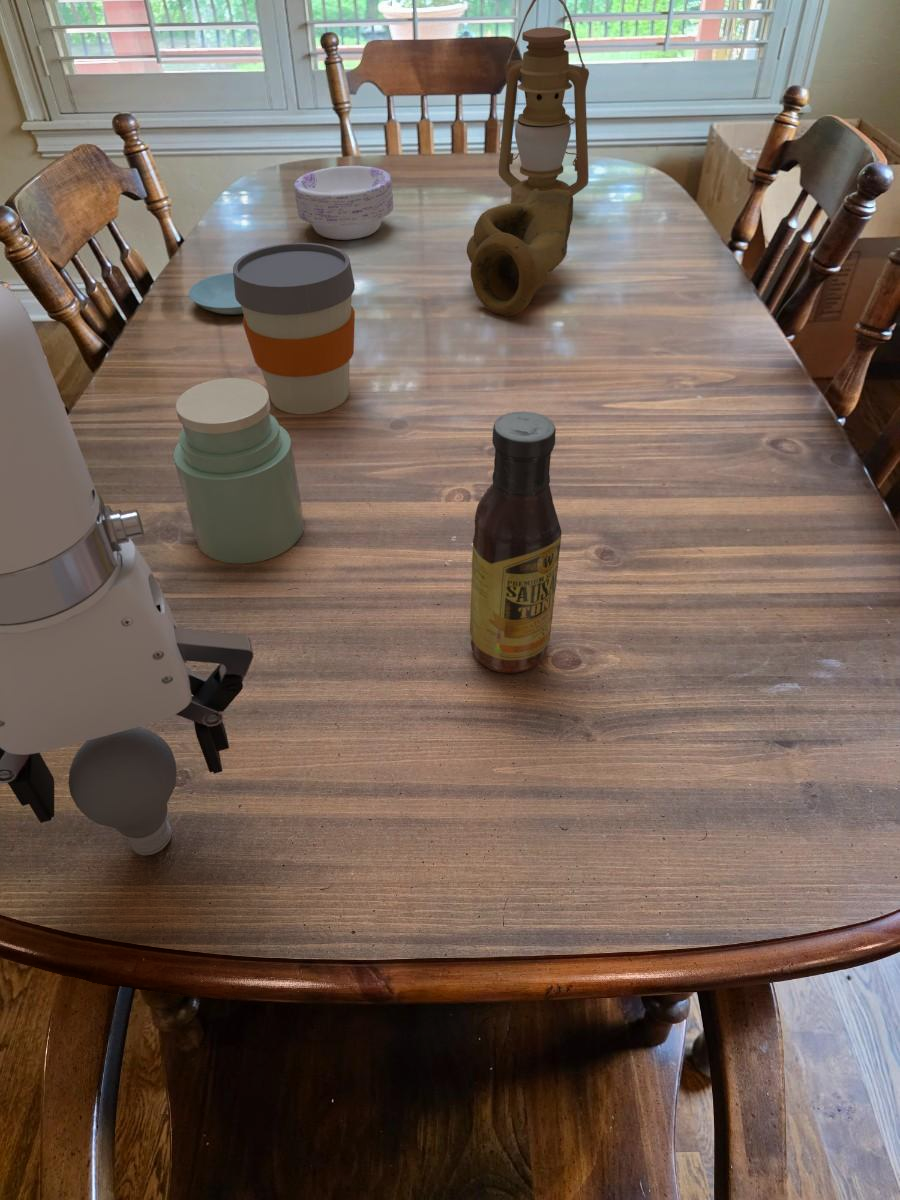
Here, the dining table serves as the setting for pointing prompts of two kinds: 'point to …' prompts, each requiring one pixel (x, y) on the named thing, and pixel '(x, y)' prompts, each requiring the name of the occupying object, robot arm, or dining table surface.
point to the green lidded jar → (237, 472)
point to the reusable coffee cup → (299, 322)
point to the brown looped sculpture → (519, 248)
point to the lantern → (544, 113)
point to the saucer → (217, 294)
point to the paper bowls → (344, 200)
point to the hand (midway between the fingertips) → (132, 778)
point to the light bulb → (126, 785)
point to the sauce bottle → (515, 548)
